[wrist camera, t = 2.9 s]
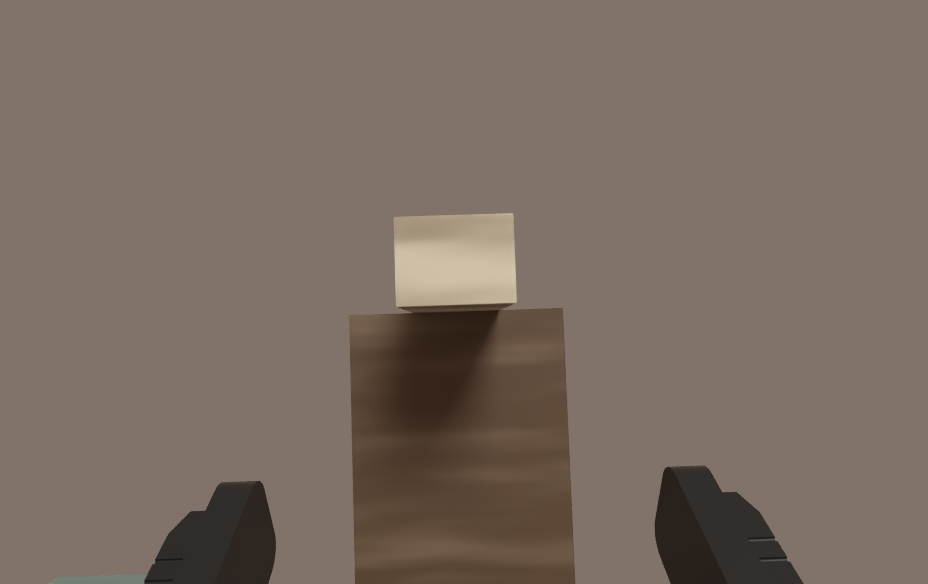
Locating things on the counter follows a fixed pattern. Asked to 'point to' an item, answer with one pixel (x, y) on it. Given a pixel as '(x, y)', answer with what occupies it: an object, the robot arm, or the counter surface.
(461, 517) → the wooden block stacks
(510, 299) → the slat
